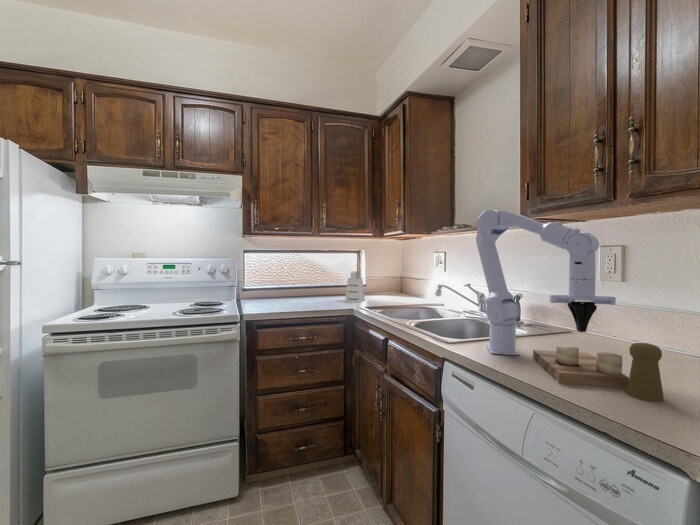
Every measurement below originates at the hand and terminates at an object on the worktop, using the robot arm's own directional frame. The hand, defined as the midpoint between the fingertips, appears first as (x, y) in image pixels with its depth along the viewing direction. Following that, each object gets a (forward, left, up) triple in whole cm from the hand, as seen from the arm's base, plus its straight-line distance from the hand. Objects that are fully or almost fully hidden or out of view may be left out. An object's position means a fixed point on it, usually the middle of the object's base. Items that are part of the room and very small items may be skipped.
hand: (581, 331), depth 90 cm
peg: (+4, -5, -10) cm, 12 cm away
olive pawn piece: (+17, +6, -10) cm, 20 cm away
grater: (-117, -84, -10) cm, 145 cm away
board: (+3, -2, -10) cm, 11 cm away
